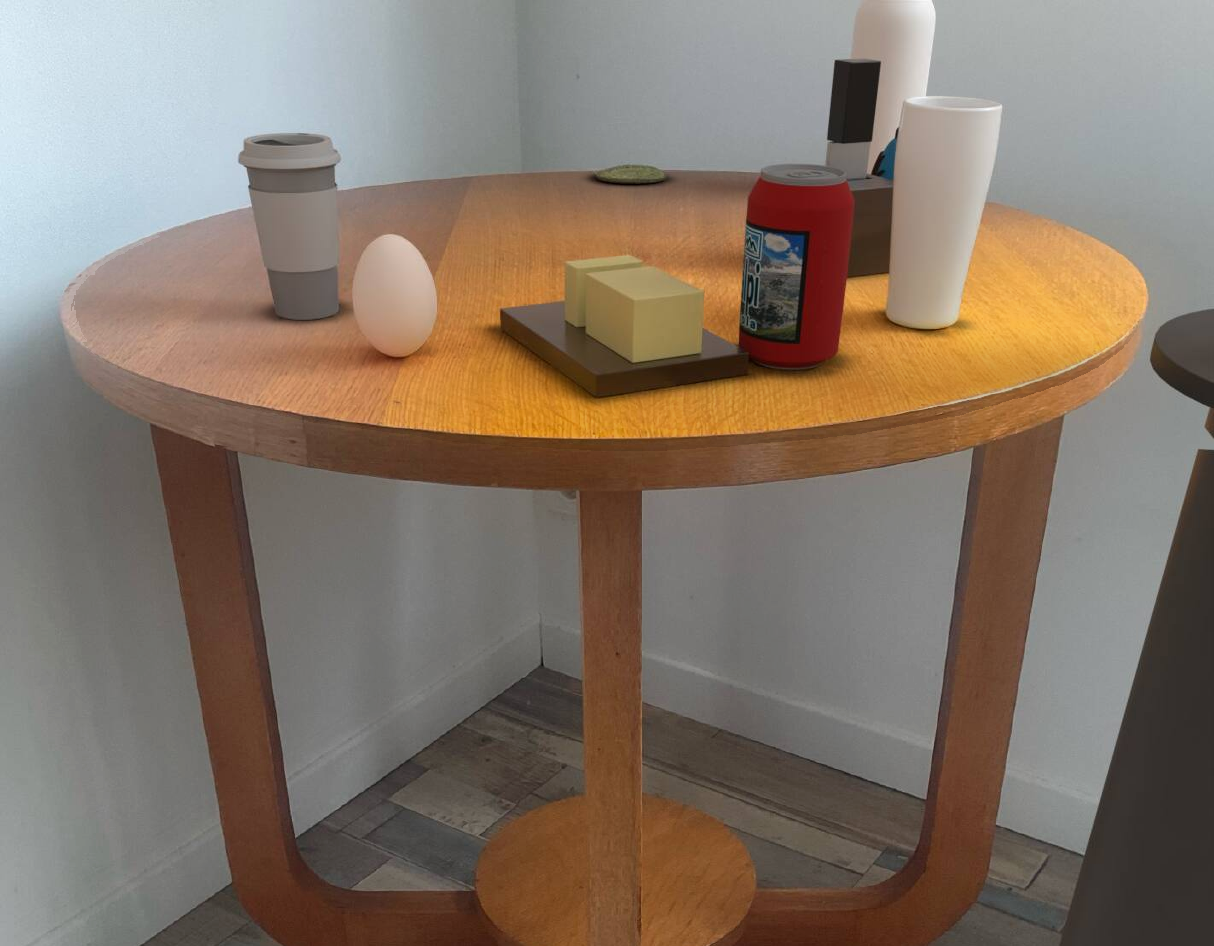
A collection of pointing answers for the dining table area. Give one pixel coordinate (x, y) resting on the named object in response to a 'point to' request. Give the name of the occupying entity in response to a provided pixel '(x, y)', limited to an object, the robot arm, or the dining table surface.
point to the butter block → (644, 313)
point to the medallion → (631, 174)
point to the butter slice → (577, 282)
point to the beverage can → (795, 265)
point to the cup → (296, 219)
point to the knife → (852, 115)
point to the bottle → (894, 58)
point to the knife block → (870, 226)
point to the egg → (394, 296)
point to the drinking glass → (938, 204)
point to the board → (614, 354)
